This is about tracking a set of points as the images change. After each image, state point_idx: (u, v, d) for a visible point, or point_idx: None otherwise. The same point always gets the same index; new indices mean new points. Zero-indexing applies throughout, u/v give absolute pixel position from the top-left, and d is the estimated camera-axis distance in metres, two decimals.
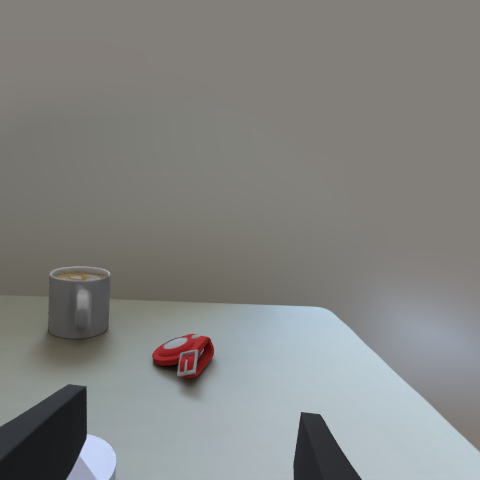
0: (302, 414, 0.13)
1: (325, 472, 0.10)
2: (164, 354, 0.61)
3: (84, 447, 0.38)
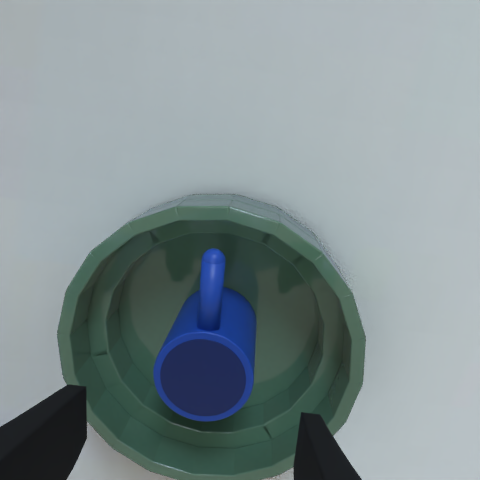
0: (302, 414, 0.13)
1: (325, 472, 0.10)
2: None
3: None
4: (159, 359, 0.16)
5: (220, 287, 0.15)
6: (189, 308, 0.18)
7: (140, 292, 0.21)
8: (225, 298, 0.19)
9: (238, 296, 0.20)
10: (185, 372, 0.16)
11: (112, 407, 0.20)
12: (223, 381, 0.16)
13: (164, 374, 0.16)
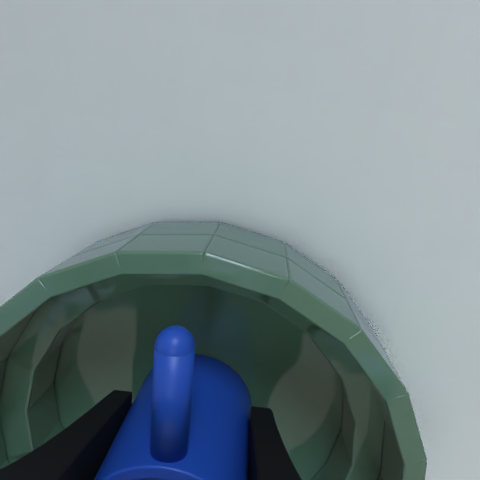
0: (251, 408, 0.13)
1: (260, 464, 0.10)
2: None
3: None
4: None
5: (186, 392, 0.09)
6: (147, 399, 0.12)
7: (84, 361, 0.14)
8: (203, 379, 0.13)
9: (224, 371, 0.13)
10: None
11: None
12: None
13: None
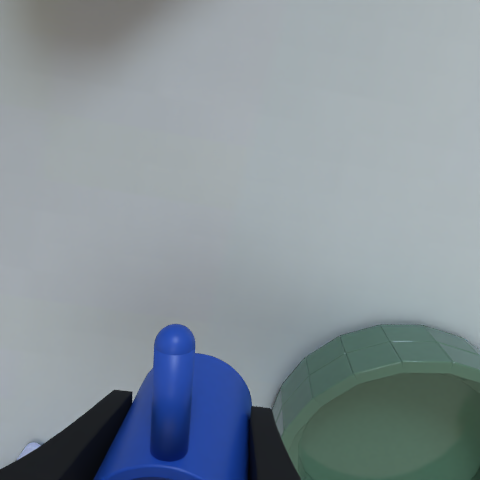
0: (251, 408, 0.13)
1: (260, 464, 0.10)
2: None
3: None
4: None
5: (186, 391, 0.09)
6: (147, 398, 0.12)
7: (319, 408, 0.22)
8: (204, 378, 0.13)
9: (225, 371, 0.13)
10: None
11: None
12: None
13: None
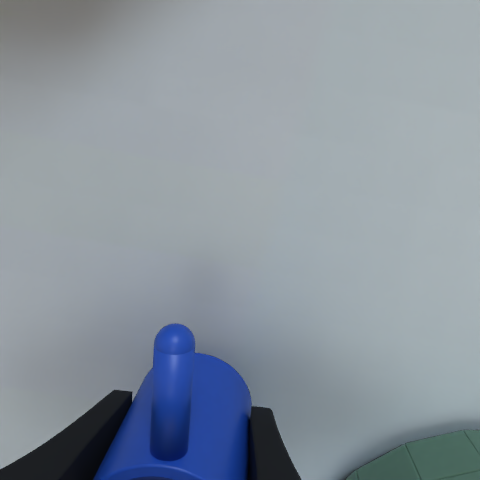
0: (251, 408, 0.13)
1: (260, 464, 0.10)
2: None
3: None
4: None
5: (186, 391, 0.09)
6: (147, 398, 0.12)
7: None
8: (203, 378, 0.13)
9: (225, 370, 0.13)
10: None
11: None
12: None
13: None
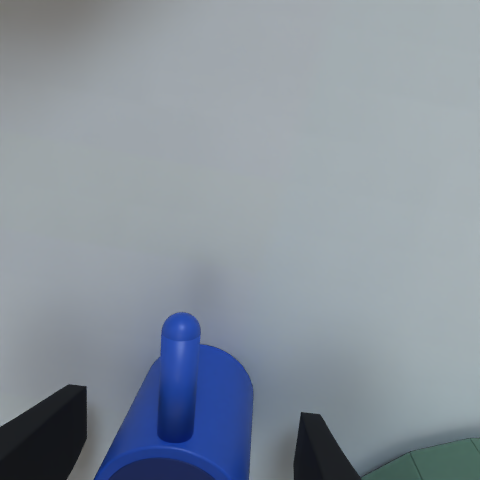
0: (302, 414, 0.13)
1: (325, 472, 0.10)
2: None
3: None
4: None
5: (192, 376, 0.09)
6: (153, 386, 0.12)
7: None
8: (207, 367, 0.13)
9: (227, 361, 0.14)
10: None
11: None
12: None
13: None
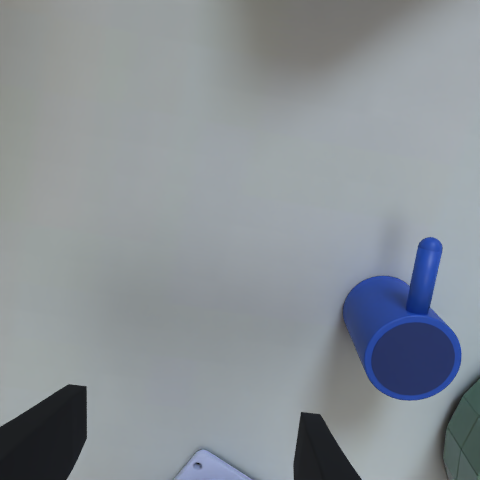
0: (302, 414, 0.13)
1: (325, 472, 0.10)
2: None
3: None
4: (373, 341, 0.17)
5: (436, 273, 0.16)
6: (375, 295, 0.19)
7: None
8: (403, 286, 0.20)
9: (408, 285, 0.21)
10: (396, 353, 0.17)
11: None
12: (432, 362, 0.17)
13: (375, 356, 0.17)
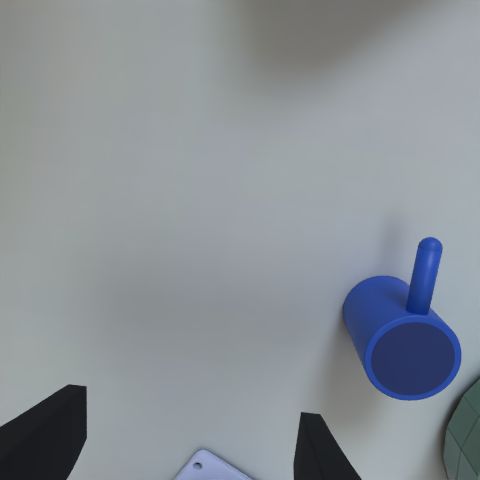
0: (302, 414, 0.13)
1: (325, 472, 0.10)
2: None
3: None
4: (373, 341, 0.17)
5: (436, 273, 0.16)
6: (375, 295, 0.19)
7: None
8: (403, 286, 0.20)
9: (408, 285, 0.21)
10: (396, 353, 0.17)
11: None
12: (432, 362, 0.17)
13: (375, 356, 0.17)
